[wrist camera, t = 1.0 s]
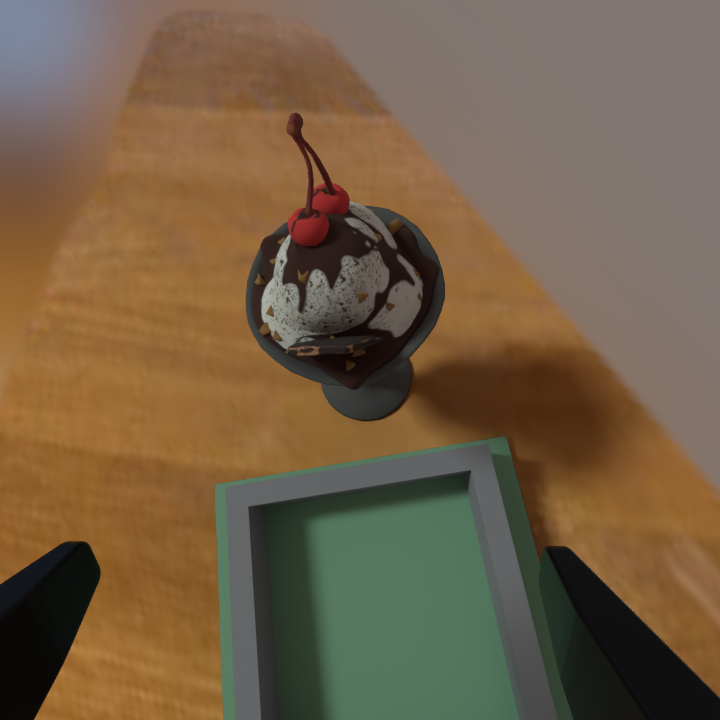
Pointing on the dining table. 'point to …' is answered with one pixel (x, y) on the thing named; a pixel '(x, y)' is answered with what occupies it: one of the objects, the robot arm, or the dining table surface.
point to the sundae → (345, 296)
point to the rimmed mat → (384, 592)
